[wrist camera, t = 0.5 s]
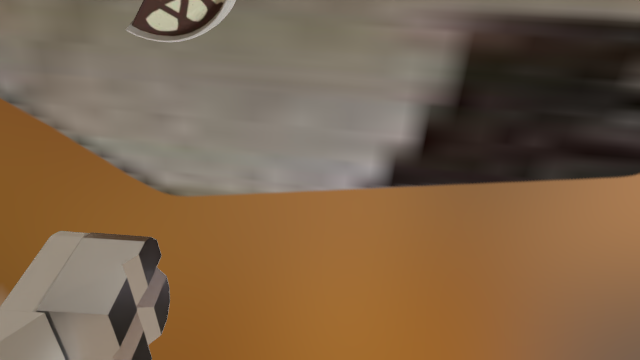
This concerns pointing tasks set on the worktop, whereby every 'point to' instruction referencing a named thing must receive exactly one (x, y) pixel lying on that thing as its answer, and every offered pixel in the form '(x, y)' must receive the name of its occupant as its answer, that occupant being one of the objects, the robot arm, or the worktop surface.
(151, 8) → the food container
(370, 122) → the worktop surface
